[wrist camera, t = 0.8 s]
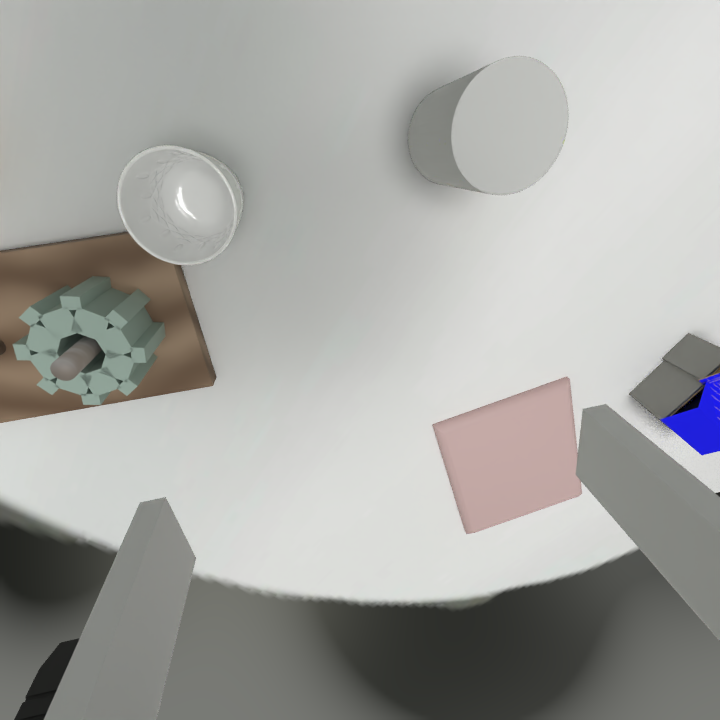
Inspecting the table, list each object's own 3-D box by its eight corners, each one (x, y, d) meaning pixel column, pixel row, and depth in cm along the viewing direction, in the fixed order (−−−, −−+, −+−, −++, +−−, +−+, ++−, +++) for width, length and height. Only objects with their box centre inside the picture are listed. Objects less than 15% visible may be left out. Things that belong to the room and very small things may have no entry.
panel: (561, 308, 49) (573, 315, 47) (582, 504, 64) (592, 515, 62) (279, 410, 50) (278, 421, 48) (366, 580, 65) (368, 594, 63)
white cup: (183, 127, 36) (145, 117, 27) (266, 184, 38) (257, 192, 30) (144, 209, 38) (98, 225, 29) (225, 257, 41) (205, 285, 32)
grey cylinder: (439, 203, 41) (490, 219, 31) (390, 129, 38) (427, 118, 27) (508, 144, 40) (587, 140, 29) (464, 62, 36) (534, 23, 26)
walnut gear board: (-133, 270, 37) (-286, 311, 27) (168, 225, 39) (125, 249, 29) (-34, 420, 44) (-128, 495, 34) (216, 376, 46) (194, 436, 36)
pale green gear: (30, 297, 38) (-14, 321, 33) (130, 263, 38) (102, 280, 32) (91, 384, 42) (62, 417, 37) (182, 354, 42) (165, 382, 37)
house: (688, 329, 52) (750, 357, 45) (728, 371, 56) (791, 403, 49) (622, 392, 55) (670, 427, 48) (665, 428, 59) (715, 465, 52)
